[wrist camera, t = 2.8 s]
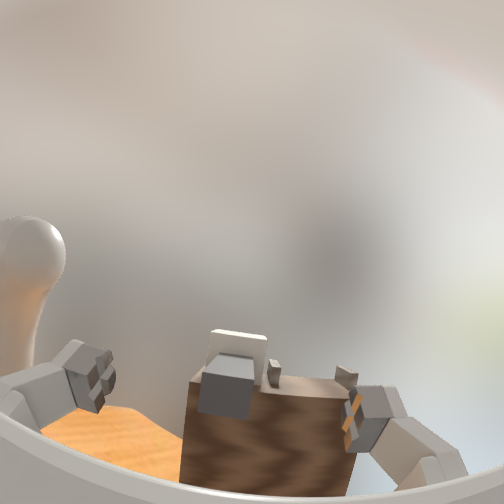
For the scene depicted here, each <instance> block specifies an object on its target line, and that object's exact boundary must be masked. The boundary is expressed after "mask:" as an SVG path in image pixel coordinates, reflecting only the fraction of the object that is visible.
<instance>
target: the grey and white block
mask: <svg viewBox="0 0 504 504" xmlns="http://www.w3.org/2000/svg"><path fill="white" fill-rule="evenodd" d="M267 341H268V340H267V338H266V337H265V336H261V335H255V334H247V333H240V332H233V331H227V330H220V329H216V330H214V331H211V332H210V338H209V345H208V352H207V360H206V367H205V369H204V370H203V372H202V378H201V386H200V394H199V402H198V410H197V412H199V413H204V414H210V415H216V416H222V417H229V418H236V419H243V420H248V418H249V412H250V406H251V399H252V392H253V386H254V385H259V386H261V382H262V375H263V368H264V362H265V354H266V348H267Z"/></svg>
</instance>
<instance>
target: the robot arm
mask: <svg viewBox="0 0 504 504" xmlns="http://www.w3.org/2000/svg"><path fill="white" fill-rule="evenodd" d="M65 261H66V251H65V245H64V242H63V240H62V237H61V235H60V234H59V232H58V231H57V230H56V228H55V227H54V226H52V225H51V224H49V223H48V222H46V221H44V220H42V219H40V218H37V217H34V216H30V215H24V216H18V217H15V218H12V219H7V220H0V504H504V464H502V465H500V466H496V467H493V468H491V469H488V470H485V471H481V472H478V473H475V474H472V475H469V474H468V472H467V470H466V467H465V465H464V463H463V460H462V458H461V456H460V453H459V451H458V450H457V449H456V448H454V447H453V446H451V445H450V444H449V443H447V442H446V441H444V440H443V439H442V438H440V437H439V436H438V435H436V434H434V433H433V432H432V431H430V430H429V429H428V428H426V427H425V426H424V425H422V424H421V423H420V422H418V421H417V420H416V419H414V418H413V417H408V416H407V412H406V410H405V408H404V405H403V403H402V401H401V398H400V396H399V394H398V391H397V389H396V387H395V386H394V385H380V386H362V385H353V386H352V387H351V388H350V391H349V393H348V395H349V400H348V401H347V402H345V403H344V406H343V408H342V412H341V427H342V429H343V430H344V431H345V432H346V434H345V436H344V444H345V449H346V453H367V452H370V453H369V454H370V455H371V456H372V457H373V458H374V459H375V460H376V462H377V463H378V464H379V465H380V466H381V467H382V468H383V469H384V471H385V472H386V473H387V474H388V475H389V476H390V477H391V478H392V479H393V481H394V482H395V483H396V484H397V485H398V487H397V488H396V489H395V490H394V491H393V492H387V493H378V494H369V495H357V496H342V497H280V496H264V495H253V494H243V493H235V492H227V491H220V490H214V489H208V488H202V487H197V486H191V485H187V484H182V483H177V482H173V481H169V480H164V479H160V478H157V477H153V476H149V475H146V474H142V473H139V472H135V471H132V470H129V469H125V468H122V467H119V466H116V465H113V464H110V463H108V462H105V461H102V460H99V459H97V458H94V457H91V456H89V455H86V454H84V453H81V452H79V451H76V450H74V449H72V448H69V447H67V446H65V445H63V444H60V443H58V442H56V441H54V440H52V439H50V438H48V437H45V436H43V435H42V433H41V431H40V429H42V428H44V427H46V426H47V425H49V424H51V423H53V422H55V421H56V420H58V419H60V418H62V417H63V416H65V415H67V414H69V413H70V412H72V411H74V410H76V409H77V407H78V408H80V409H83V410H86V411H89V412H93V413H96V414H98V413H99V411H100V410H101V408H102V406H103V405H104V403H105V398H104V396H106V395H108V394H110V393H111V391H112V390H113V388H114V384H115V380H116V374H115V369H114V368H113V366H112V365H111V364H110V363H111V362H112V360H113V356H112V352H111V351H110V350H108V349H105V348H101V347H98V346H95V345H92V344H89V343H84V342H81V341H78V340H75V339H74V340H71V341H70V342H69V343H68V344H67V345H66V346H65V347H64V348H63V349H62V351H61V352H60V353H59V354H58V355H57V356H56V357H55V358H54V359H53V360H52V361H51V362H50V363H48V362H45V363H42V364H39V365H37V366H33V361H34V346H35V338H36V332H37V327H38V323H39V320H40V317H41V314H42V311H43V308H44V305H45V302H46V300H47V297H48V294H49V292H50V290H51V288H52V287H53V286H54V285H55V284H56V282H57V281H58V280H59V278H60V276H61V275H62V273H63V270H64V267H65Z"/></svg>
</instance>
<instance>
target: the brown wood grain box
mask: <svg viewBox="0 0 504 504" xmlns="http://www.w3.org/2000/svg"><path fill="white" fill-rule="evenodd" d="M205 367H206V365H205V366H204V367H203V368H202V369H201V370H200V371H199V372H198V373H197V374H196V375H195V376H194V377H193V378H192V379H191V380H190V382H189V390H188V398H187V407H186V416H185V425H184V434H183V444H182V455H181V465H180V477H179V483H182V484H187V485H191V486H197V487H202V488H208V489H214V490H220V491H227V492H235V493H243V494H253V495H264V496H280V497H342V496H345V494H346V491H347V487H348V484H349V481H350V478H351V474H352V471H353V467H354V463H355V460H356V455H357V453H346V449H345V444H344V436H345V434H346V432H345V431H344V430H343V429H342V427H341V412H342V408H343V406H344V403H345V402H347V401H348V400H349V395H348V393H349V391H350V388H351V387H352V386H353V385H357V380H358V373H356V372H354V371H352V370H350V369H348V368H346V367H344V366H337V368H336V374H335V379H318V378H305V377H293V376H284V375H280V372H281V367H280V365H279V363H278V361H277V360H270V359H269V363H268V370H267V374H266V373H263V375H262V382H261V386H259V385H254V386H253V392H252V399H251V406H250V412H249V418H248V420H243V419H236V418H229V417H222V416H216V415H210V414H204V413H199V412H197V410H198V402H199V394H200V386H201V378H202V372H203V370H204V369H205Z"/></svg>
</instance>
